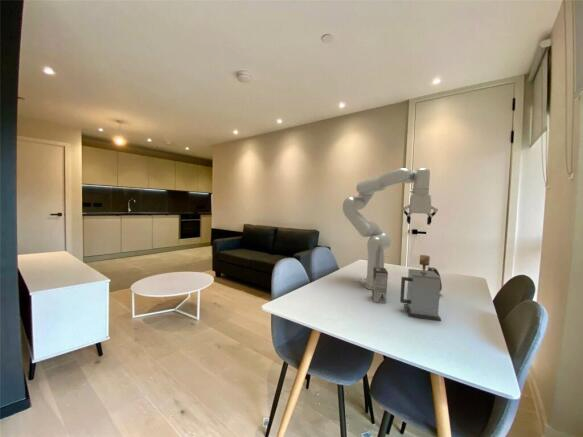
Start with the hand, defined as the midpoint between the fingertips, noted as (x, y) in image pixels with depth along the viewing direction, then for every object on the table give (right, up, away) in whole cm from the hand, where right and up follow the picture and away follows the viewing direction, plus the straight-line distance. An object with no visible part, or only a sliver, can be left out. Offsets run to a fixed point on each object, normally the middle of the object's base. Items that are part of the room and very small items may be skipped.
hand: (418, 224), depth 136 cm
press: (-9, -41, -17) cm, 46 cm away
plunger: (-7, -35, -18) cm, 40 cm away
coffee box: (-22, -40, -2) cm, 46 cm away
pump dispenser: (+12, -40, +9) cm, 43 cm away
